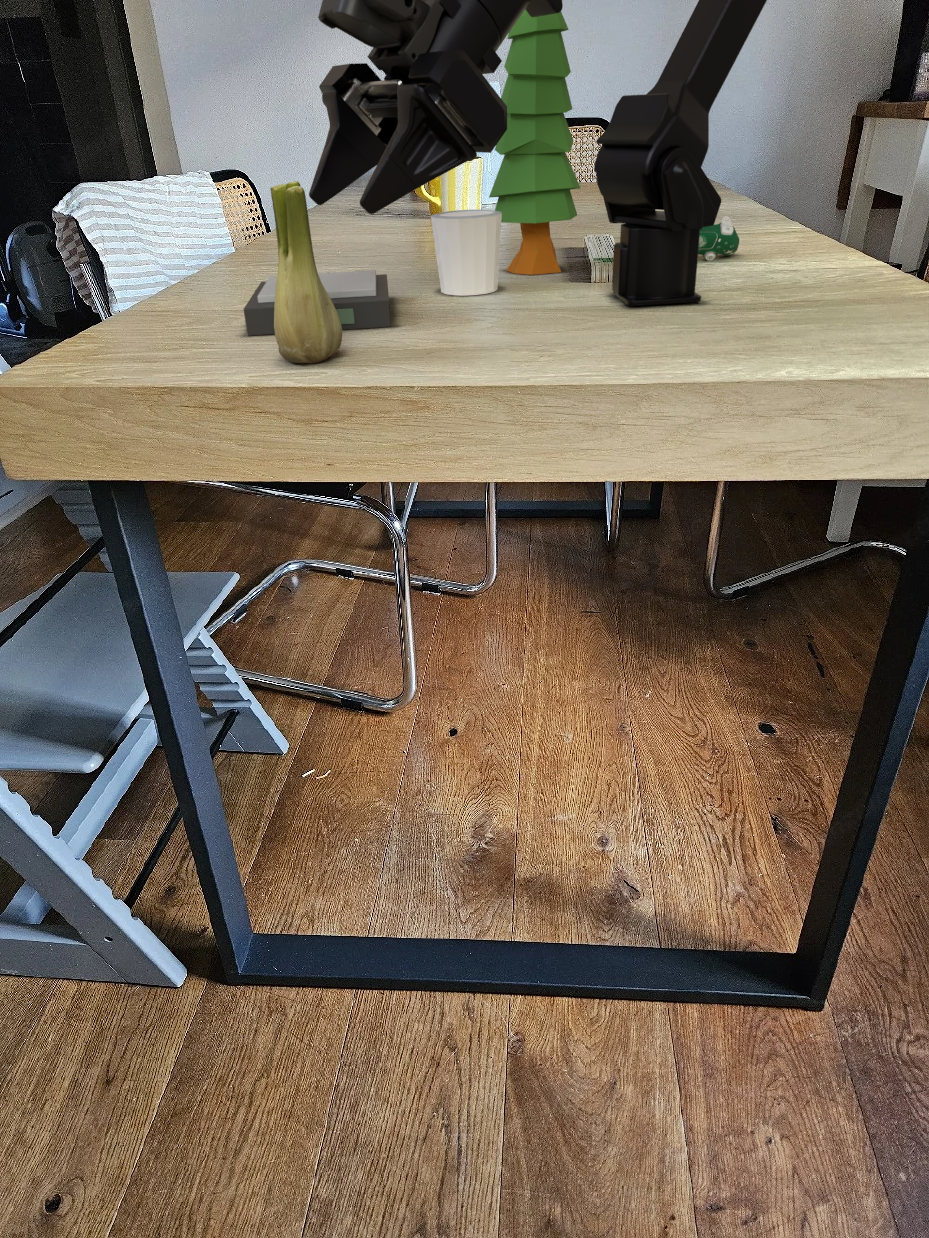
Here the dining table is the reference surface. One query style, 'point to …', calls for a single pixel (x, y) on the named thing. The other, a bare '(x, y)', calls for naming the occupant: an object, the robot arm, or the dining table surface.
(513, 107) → the decorative tree
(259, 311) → the kitchen scale
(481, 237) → the white cup
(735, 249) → the green toy car
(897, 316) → the dining table surface
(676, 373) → the dining table surface
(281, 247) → the fennel bulb
